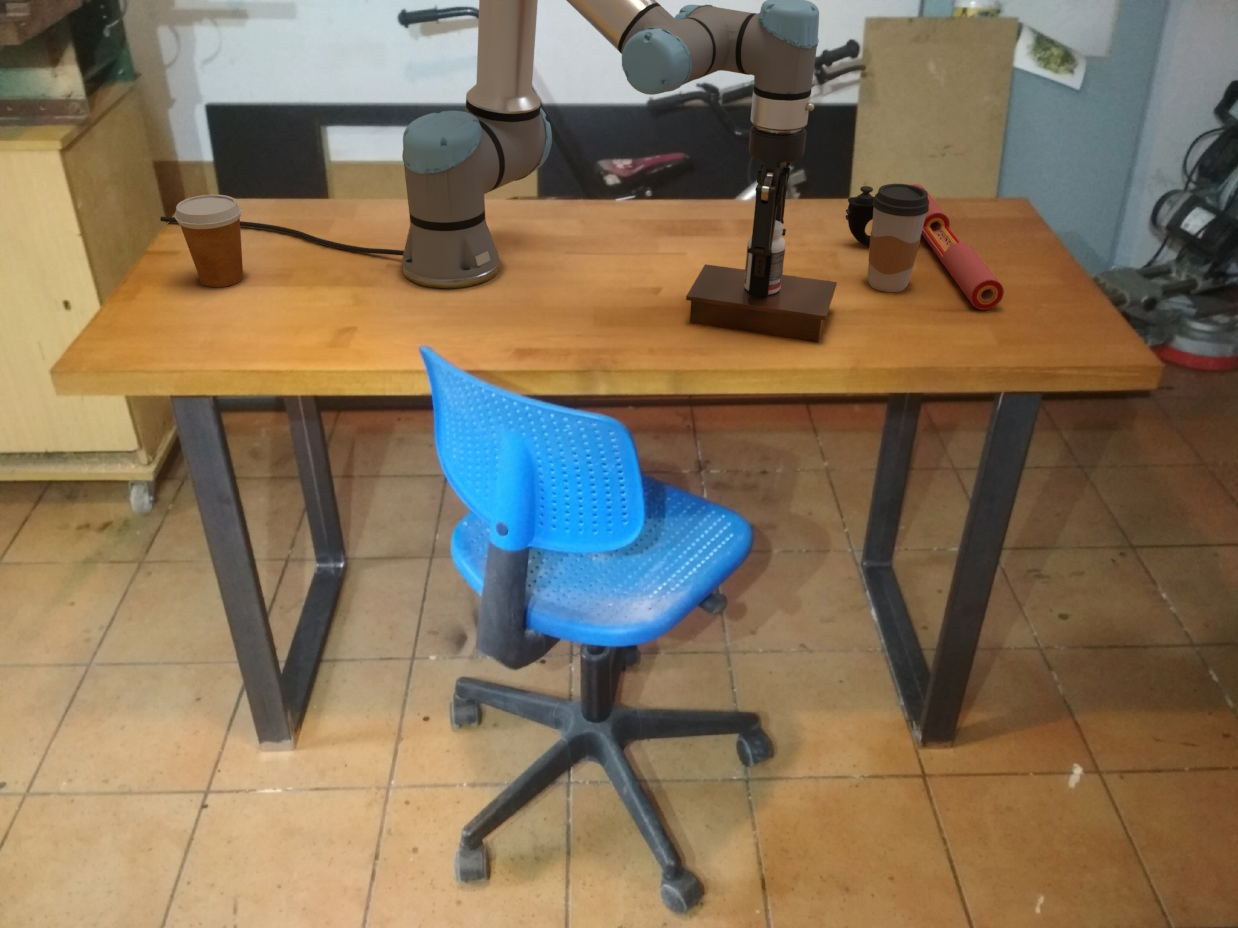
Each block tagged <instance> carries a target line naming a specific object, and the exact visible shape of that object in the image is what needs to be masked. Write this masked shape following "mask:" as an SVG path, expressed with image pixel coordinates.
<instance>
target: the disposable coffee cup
mask: <svg viewBox="0 0 1238 928" xmlns="http://www.w3.org/2000/svg"><path fill="white" fill-rule="evenodd" d="M237 201H238V200H237V199H236V198H234V197H232V196H229V195H225V194H204V195H203V194H202V195H197V196H192V197H188V198H186V199H184V200H181V201H179V202H178V203H177V204H176V206H175V213H174V217H175V219H176V220H177V221H178V222H177V223H178V225H179V227H180V228H181V231H182V235H183V237H184V240H185V242H186V245H187V248H188V250H189V253H190V256H191V260H192V262H193V264H194V267H195V269H196V272H197V275H198V278H199V280H200V281H199V282H200V283H201V284H202V285H203V286H205V287H210V288H224V287H225V288H226V287H228V286H232V285H235V284H238V283H240V282H241V281H242V280H243V279H244V269H243V268H244V267H243V251H242V233H241V226H240V221H241V214H242V208H241V206H240V205H239V204H238V202H237Z"/></svg>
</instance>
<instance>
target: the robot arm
mask: <svg viewBox="0 0 1238 928" xmlns="http://www.w3.org/2000/svg"><path fill="white" fill-rule="evenodd" d="M565 1H566V2H567V3H568V4H569V5H570V6H571V7H572V8H573V9H574V10H575V11H576V12H577V13H579V14H580V16H582V17H583V18H584V19H585V20H586V21H587V22H588V23H589V24H590V25H591V26H592V28H594V29H595V30H596V31H598V33H599V34H600V35H602V37H603V38H604V39H605V40H606V41H608V43H610V45H612V46H613V47H614V48H615V50H617V51H618V52H619V53H620V54H621V69H622V71H623V72H624V75H625V77H626V81H627V82H628V84H629V85H630V86H631V87H632V88H633V89H634V90H636V91H637V92H639V93H641V94H644V95H649V96H650V95H651V96H652V95H653V96H654V95H660V94H664V93H669V92H673V91H676V90H677V89H680V88H681V87H682V86H684V85H686V84H689V83H691V82H692V81H695V80H699V79H703V78H704V77H706V76H707V77H708V76H709V75H712V74H714V73H716V72H720V71H723V72H731V73H737V74H741V75H746V76H747V75H748V76H750V75H751V76H753V90H752V97H751V98H752V100H751V110H750V122H751V123H752V125H751V126H750V128H749V135H748V137H749V138H748V154H749V155H750V156H751V157H753V158H754V159H758V160H760V161H761V162H762V163H763V164H761V166H760V169H758V171H757V173H756V183H757V184H756V186H755V189H754V190H755V204H754V213H753V223H752V233H751V237H752V242H751V248H748V249H747V248H746V254H747V253H751V254H752V263H751V274H750V284H749V294H748V295H754V296H761V297H768V291H769V282H770V272H771V263H772V254H773V253H772V250H771V248H772V241H773V234H774V227H775V220H776V221H779V222H781V223H782V224H783V225H784V223H785V221H784V216H785V208H786V199H787V191H788V183H789V179H790V175H791V167H790V166H791V164H792V162H796V161H799V160H800V159H801V158H803V157H804V154H805V147H806V143H807V142H806V140H807V132H808V131H807V130H806V128H805V127H806V126H807V125H808V122H809V121H808V120H809V112H812V111H813V110H814V109H815V104H814V103H813V102H810V100H811V95H812V86H813V79H814V71H815V65H816V64H815V63H816V57H817V50H818V49H817V48H818V46H819V27H820V25H819V24H820V9H819V8H818V6H817V5H816V4H815V3H814V2H813V1H810V0H765V1H763V2H762V3H761V7H760V12H758V13H757V12H749V11H742V10H736V9H731V8H726V7H725V8H724V7H717V6H713V4H706V3H705V4H703V5H702V4H687V5H684V6H683V7H681V8H680V10H679V11H678V13H677V14H676V15H675V16H673V15H672V14H671V13H670V12H668V10H666V9H665V8H664V7H663V5H661V4H660V3H659V2H658V1H657V0H565ZM538 2H539V0H479V1H478V27H477V28H478V29H477V56H476V59H477V60H476V83H475V84H474V85H473V86H472V87H471V88H470V89H468V90H467V92H466V93H465V111H462V110H443V111H440V112H438V113H437V112H431V113H427V114H424V115H422V116H420V117H418V118H416V119H414V120H413V121H411V122H410V123H409V124H408V125H407V126H406V128H405V129H404V131H403V134H402V155H401V156H402V163H403V169H404V179H405V186H406V188H405V189H406V196H407V204H408V205H407V206H408V215H409V228H408V233H407V236H406V241H405V244H404V245H405V246H404V249H402V250H401V249H400V250H399V249H389V248H375V247H374V248H371V247H364V246H356V245H351V244H346V243H341V242H336V241H331V240H327V239H325V238H324V239H323V238H320V237H317V236H314V235H311V234H308V233H305V232H302V231H300V230H297V229H292V228H290V227H289V228H288V227H283V226H279V225H274V224H267V223H261V222H252V221H242V220H240V227H243V228H244V227H245V228H246V227H247V228H256V229H262V230H263V229H264V230H270V231H275V232H280V233H285V234H289V235H293V236H297V237H300V238H303V239H305V240H307V241H311V242H314V243H316V244H320V245H324V246H328V247H332V248H336V249H340V250H346V251H351V252H355V253H356V252H358V253H364V254H374V255H375V254H376V255H391V256H392V255H393V256H402V261H401V263H402V264H401V265H402V272H403V275H404V277H405V278H406V279H407V280H409V281H411V282H412V283H414V284H417V285H420V286H423V287H429V288H434V289H458V288H466V287H471V286H476V285H480V284H482V283H484V282H486V281H489V280H490V279H492V278H494V277H495V276H496V275H497V274H498V272H499V271H500V269H501V268H500V267H501V266H500V256H499V252H498V249H497V247H496V244H495V241H494V238H493V236H492V233H491V231H490V229H489V226H488V223H487V221H486V202H485V195H486V194H488V193H491V192H492V191H495V190H496V189H499V188H502V187H504V186H505V185H508V184H510V183H513V182H516V181H520V180H523V179H525V178H527V177H528V176H530V175H531V174H532V173H534V172H536V171H537V170H539V169H540V168H541V167H542V166H543V165H544V163H545V162H546V161H547V159H548V157H549V155H550V152H551V148H552V143H553V133H552V132H553V131H552V127H551V123H550V122H549V121H548V120H547V114H546V112H545V110H543V108H542V107H541V106H542V105H541V104H542V101H541V98H540V97H539V96H538V94H536V92H535V91H534V90H533V79H534V78H533V77H534V64H535V63H534V61H535V47H536V32H537V18H538V17H537V16H538V5H539V4H538ZM159 218H160V221H161V222H166V223H178V221H177V220H176V219H175V216H174V217H173V216H160V217H159ZM786 233H787V228H783V233H782V235H781V237H782V236H783V237H784V236H786Z"/></svg>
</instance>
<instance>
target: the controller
mask: <svg viewBox="0 0 1238 928" xmlns="http://www.w3.org/2000/svg"><path fill="white" fill-rule="evenodd" d="M859 189H860V192H862V193H860V194H858V195H857V196H851V197H849V198H847V203H848V206H847V209H845V213H846V214H845V216H844V217H845V219H846V221H847V223H848V229H849V231H850V233H851V235H852V236H853V238H854V239H855V240H856V241H857V242H858V243H860V244H862V245H864V246H866V247H870V236H871V235H869V234H867V232H866V227H867V225H868V224H869V222H871V221H873V209H874V206H873V202H874V198H875V196H873V195H872V194H871V193H873V191H874V188H873V187H872V186H869V185H864V186H863V185H862V186H860V188H859Z"/></svg>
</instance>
